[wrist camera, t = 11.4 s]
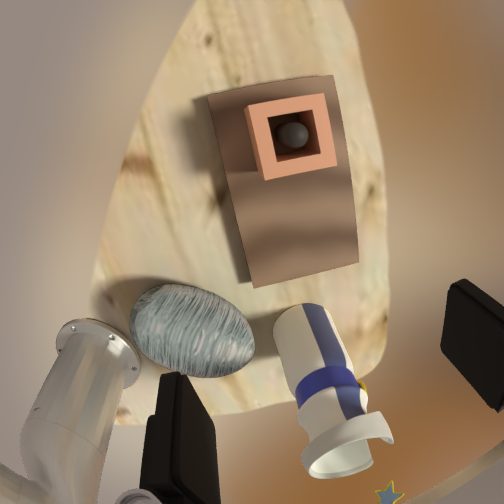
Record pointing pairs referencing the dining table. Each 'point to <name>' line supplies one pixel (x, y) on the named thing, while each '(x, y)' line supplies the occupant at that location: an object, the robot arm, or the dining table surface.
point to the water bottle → (328, 396)
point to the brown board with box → (287, 187)
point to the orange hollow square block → (289, 163)
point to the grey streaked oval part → (191, 331)
